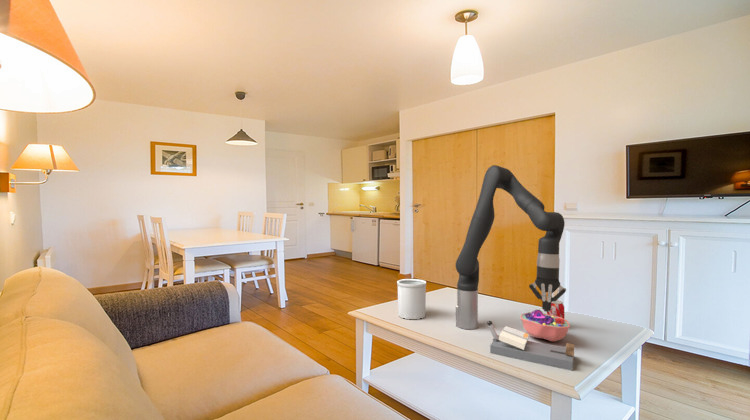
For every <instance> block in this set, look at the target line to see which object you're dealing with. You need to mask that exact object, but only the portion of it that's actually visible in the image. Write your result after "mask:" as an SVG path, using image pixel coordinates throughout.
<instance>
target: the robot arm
mask: <svg viewBox="0 0 750 420" xmlns="http://www.w3.org/2000/svg"><path fill="white" fill-rule="evenodd" d="M497 189H501V190H503V191H504V192H506V193H508V194H509V195H510V196H512V198H513V200H514V202H515V203H516V205H517V206H518V207H519V208H520V209H521V210H522V211H523V213H525V214H527V216H528V217H529V219H530V221H531V222H532V224H533V225H534V227H535V228H536V229H538V230H540V231H543V232H545V235H544V236H542V237H540V238H539V239H538V246H537V249H538V250H537V258H536V277H535V280H534V282H533V283H530V284H529V286H528V287H529V289H530V290H531V291H532V293H533V295H535V297H536V298H537V299H538V300H541V302H542V304H541V305H542V306H541V307H542V308H541V309H542V310H543V311H544V312H546V313H547V312H549V311H550V310H551V302H552V301H556V300H559V299H560V298H561V297H562V296H563V295H564V294H565V293H566V291H567V288H565V287H563V286H562V285H561V282H560V262H561V261H560V242H561V239H562V237H563V233H564V230H565V226H566V225H565V219H564V217H563V215H562V214H561V213H560V212H556V211H553V212H552V211H545V205H544V203H543V202H542V201H541V200H540V199H538V197H536V196H535V195H534V194H532V193H531V192H530V191H529V189H527V188H526V187H525V186H524V185H522V184H521V182H520V181H519V180H518V178H517V177H516V176H515V174H513V172H512V171H511V170H509V168H505V167H503V166H500V165H495V164H494V165H491V166H490V167H488V168H487V170H486V171H485V174H484V177H483V180H482V185H481V189H480V193H479V196H478V199H477V203H476V206H475V209H474V211H473V215H472V217H471V220H470V223H469V226H468V229H467V232H466V236H465V240H464V243H463V246H462V248H461V250H460V253H459V255H458V257H457V258H456V261H455V270H456V272H457V273H458V276H459V277H458V280H457V282H456V283H457V284H456V286H457V287H456V291H457V293H456V296H457V297H456V298H457V299H456V300H457V301H456V305H455V326H456V327H458V328H460V329H464V330H476V329H478V328H479V313H478V312H479V308H478V307H479V300H478V299H479V291H478V289H479V288H478V287H479V283H480V262H479V259H478V257H479V253H480V251H481V248H482V246H483V244H484V243H485V241H486V239H487V238H488V236H489V234H490V232H491V230H492V227H493V224H494V222H495V208H494V198H495V194H496V191H497ZM537 287H538V289H537ZM557 289H558V293H557V294H555V295H554V296H553V293H555V292H556V291H557ZM539 291H540V292H541V293H540V292H539Z"/></svg>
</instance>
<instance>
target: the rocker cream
mask: <svg viewBox="0 0 750 420" xmlns="http://www.w3.org/2000/svg"><path fill="white" fill-rule="evenodd" d="M499 340H500V341H503V342H505V343H508V344H510V345H513V346H515V347H518V348H521V349H523V350H524V348H525V346H526V342H527V340H525V339H522V338H520V337H517V336H515V335H512V334H509V333H507V332H504V331H503V330H501V332H500V334H499Z"/></svg>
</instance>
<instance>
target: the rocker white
mask: <svg viewBox="0 0 750 420" xmlns="http://www.w3.org/2000/svg"><path fill="white" fill-rule="evenodd" d="M502 331H504V332H507V333H509V334H512V335H515V336H517V337H520V338H522V339H525V340H527V341H529V338H530V335H529V334H528V333H527V332H524V331H521V330H518V329H515V328H512V327H510V326H507V325H505V326H504V328H503V329H502ZM526 343H527V342H526Z"/></svg>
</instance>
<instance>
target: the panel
mask: <svg viewBox="0 0 750 420" xmlns="http://www.w3.org/2000/svg"><path fill="white" fill-rule="evenodd" d="M497 335H498V334H497ZM499 335H500V334H499ZM499 335H498V339H496V340H494V338H493V339H492V342H491V343H490V345H489V347H490V348H489V349H490V351H489V352H490V354H493V355H498V356H502V357H506V358H512V359H516V360H520V361H525V362H530V363H535V364H540V365H543V366H550V367H553V368H558V369H563V370H568V371H571V372H572V371H573V369H574V357H575V355H574V356H569V355H566V347H564V346H557V345H552V344H547V343H541V342H536V341H532V340H528V341H527V343H526V346H525V348H524V350H523V349H521V348H518V347H515V346H513V345H510V344H508V343H505V342H503V341H500V340H499Z"/></svg>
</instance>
